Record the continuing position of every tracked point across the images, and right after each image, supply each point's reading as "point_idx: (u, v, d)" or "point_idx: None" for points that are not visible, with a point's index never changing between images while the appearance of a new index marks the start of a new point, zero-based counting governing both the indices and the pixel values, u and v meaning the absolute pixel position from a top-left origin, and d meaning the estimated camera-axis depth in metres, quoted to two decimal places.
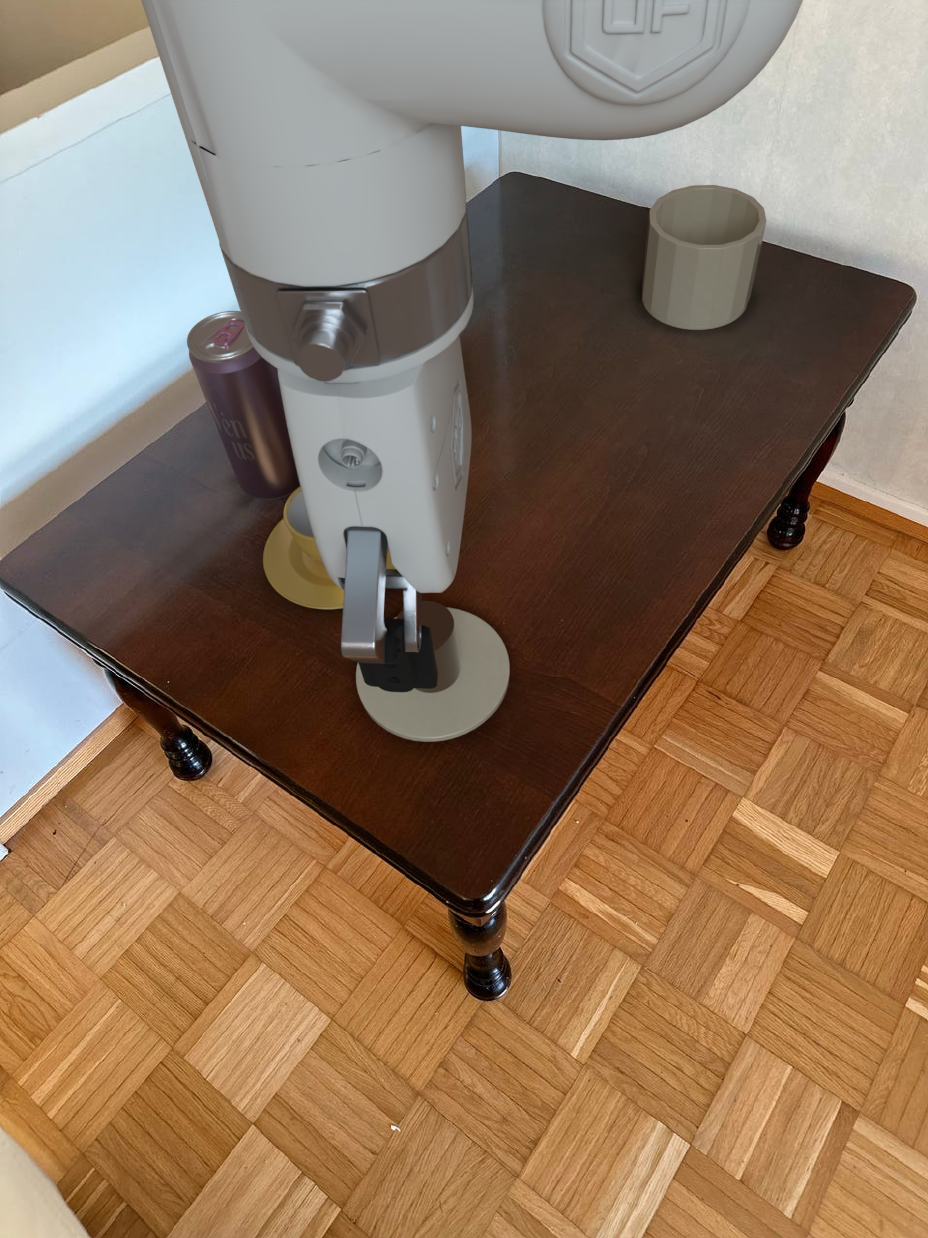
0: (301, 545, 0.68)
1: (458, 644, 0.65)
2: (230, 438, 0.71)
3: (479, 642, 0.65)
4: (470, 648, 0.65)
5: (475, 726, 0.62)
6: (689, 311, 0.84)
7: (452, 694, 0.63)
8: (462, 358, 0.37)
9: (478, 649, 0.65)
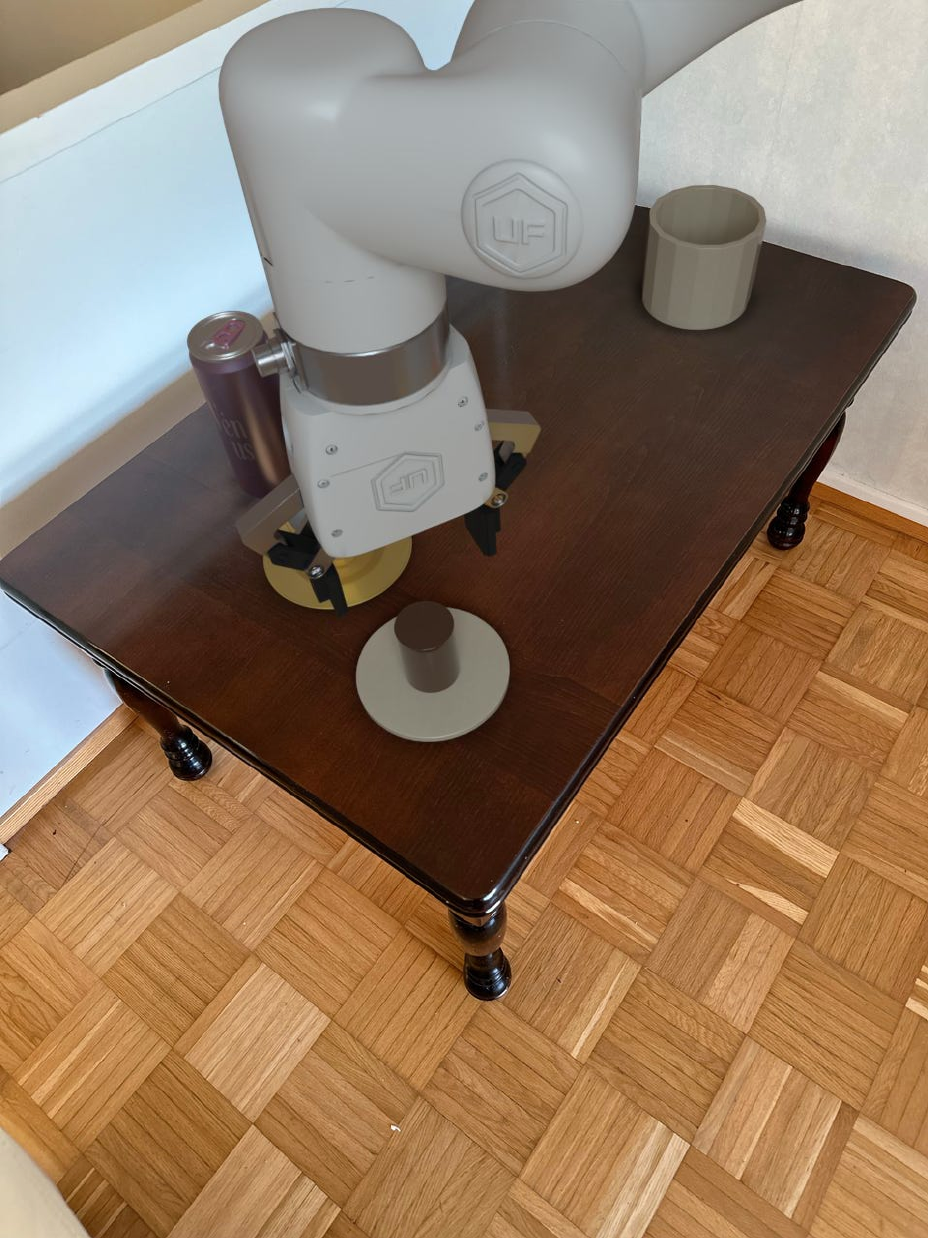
0: None
1: (458, 644, 0.65)
2: (230, 438, 0.71)
3: (479, 642, 0.65)
4: (470, 648, 0.65)
5: (475, 726, 0.62)
6: (689, 311, 0.84)
7: (452, 694, 0.63)
8: (486, 450, 0.46)
9: (478, 649, 0.65)
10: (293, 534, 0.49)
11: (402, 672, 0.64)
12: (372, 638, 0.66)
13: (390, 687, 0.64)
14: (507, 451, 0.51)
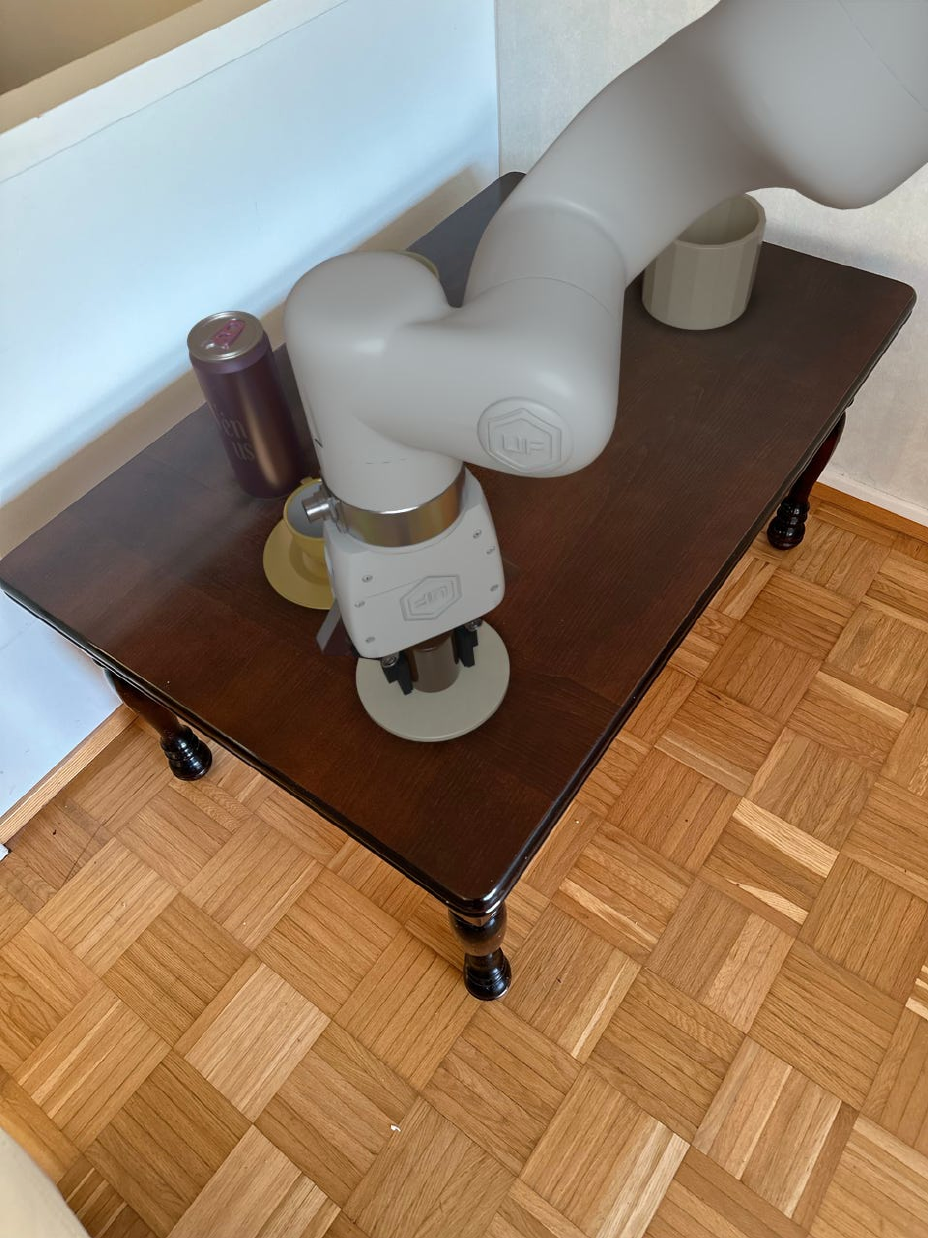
0: (301, 545, 0.68)
1: None
2: (230, 438, 0.71)
3: (479, 642, 0.65)
4: None
5: (475, 726, 0.62)
6: (689, 311, 0.84)
7: (452, 694, 0.63)
8: (497, 567, 0.54)
9: (478, 649, 0.65)
10: None
11: None
12: None
13: (390, 687, 0.64)
14: None
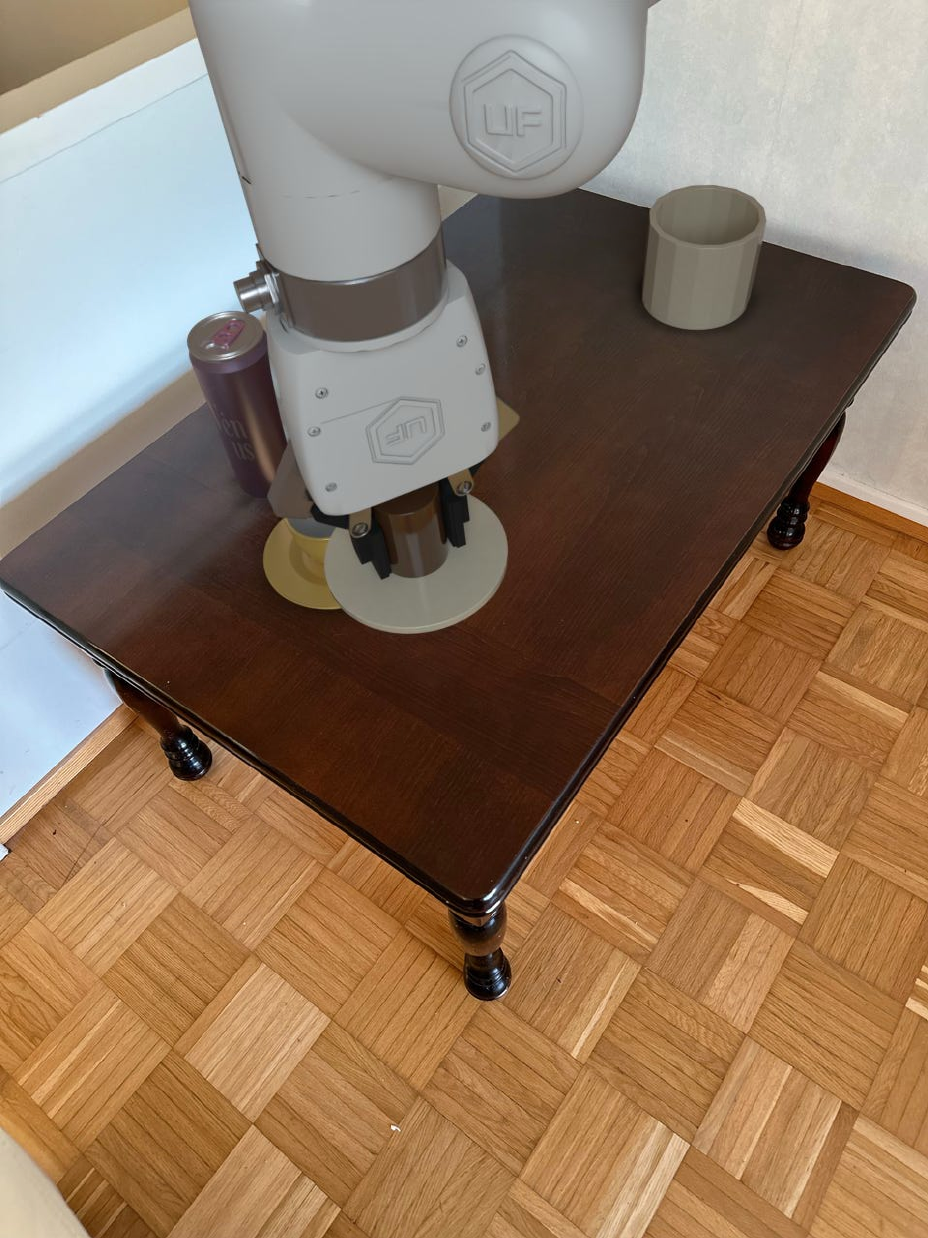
0: (300, 545, 0.68)
1: None
2: (230, 438, 0.71)
3: (471, 521, 0.55)
4: None
5: (466, 614, 0.51)
6: (689, 311, 0.84)
7: (439, 579, 0.52)
8: (488, 397, 0.43)
9: (470, 529, 0.54)
10: None
11: None
12: None
13: (365, 573, 0.53)
14: None
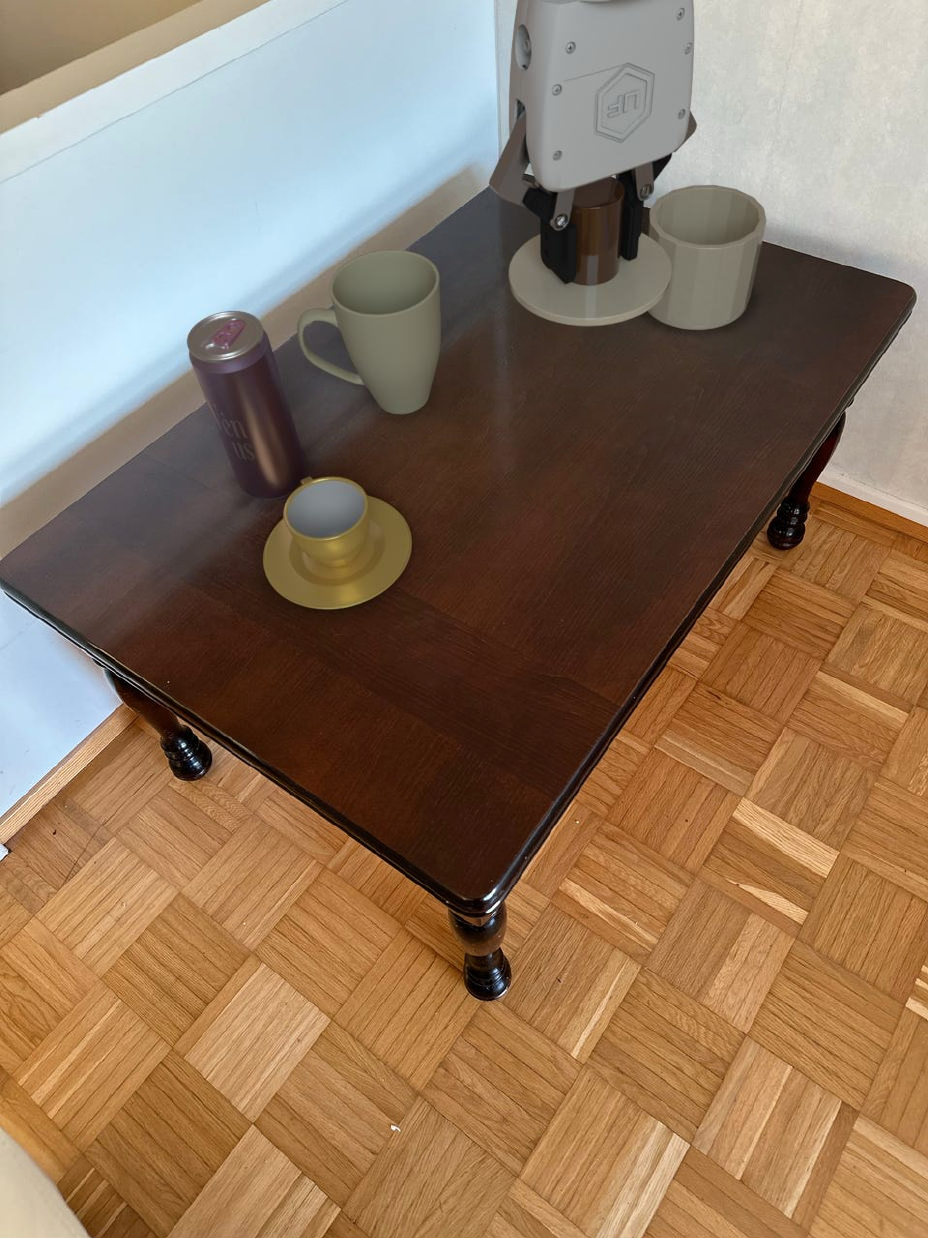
0: (300, 545, 0.68)
1: None
2: (230, 438, 0.71)
3: None
4: None
5: (642, 309, 0.59)
6: (689, 311, 0.84)
7: (614, 285, 0.60)
8: (688, 81, 0.51)
9: None
10: None
11: None
12: (521, 248, 0.63)
13: (548, 283, 0.61)
14: None
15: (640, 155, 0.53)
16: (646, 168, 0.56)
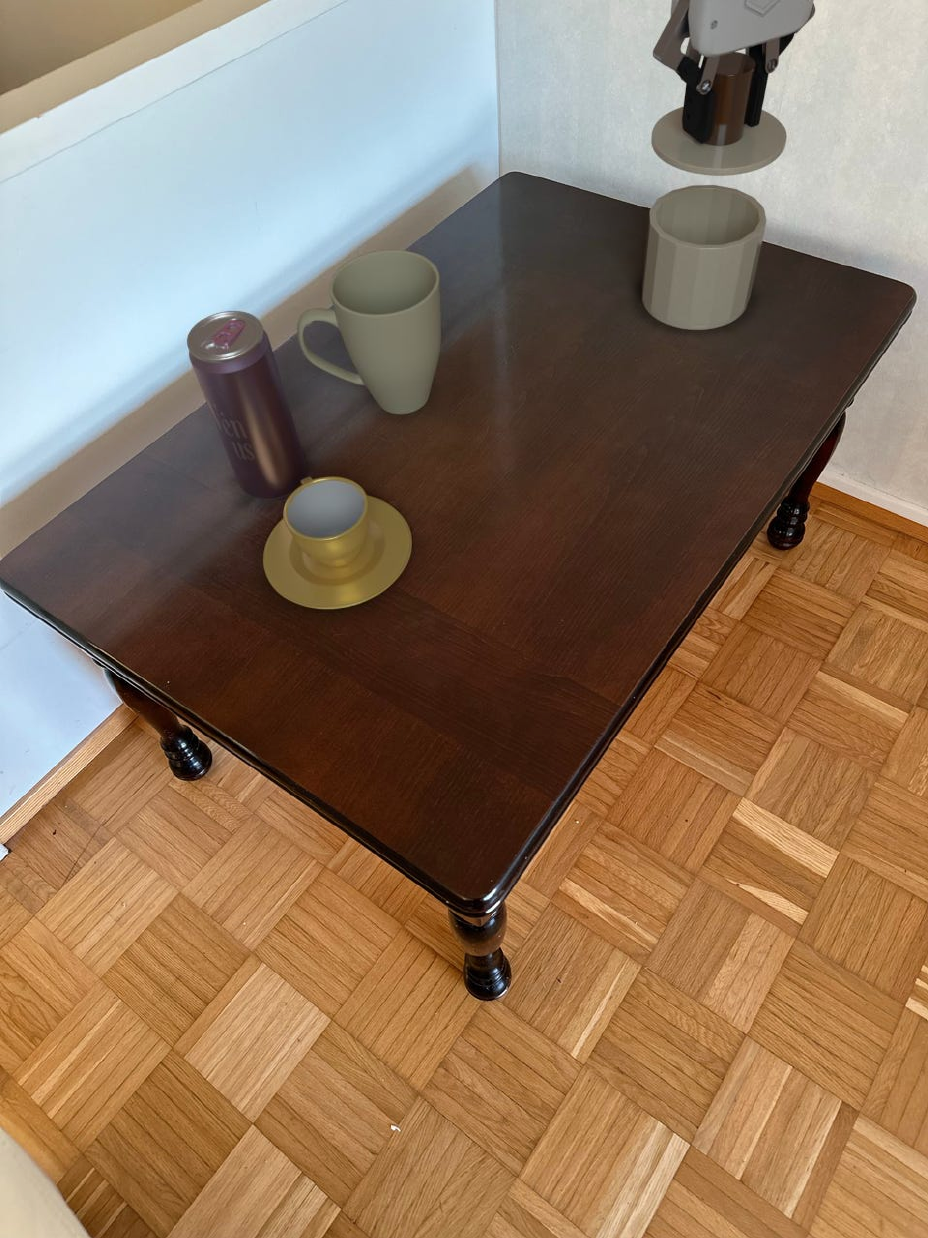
0: (300, 545, 0.68)
1: None
2: (230, 438, 0.71)
3: None
4: None
5: (765, 163, 0.73)
6: (689, 311, 0.84)
7: (740, 145, 0.74)
8: None
9: None
10: None
11: None
12: (660, 120, 0.78)
13: (686, 144, 0.75)
14: None
15: (774, 29, 0.68)
16: (774, 44, 0.70)
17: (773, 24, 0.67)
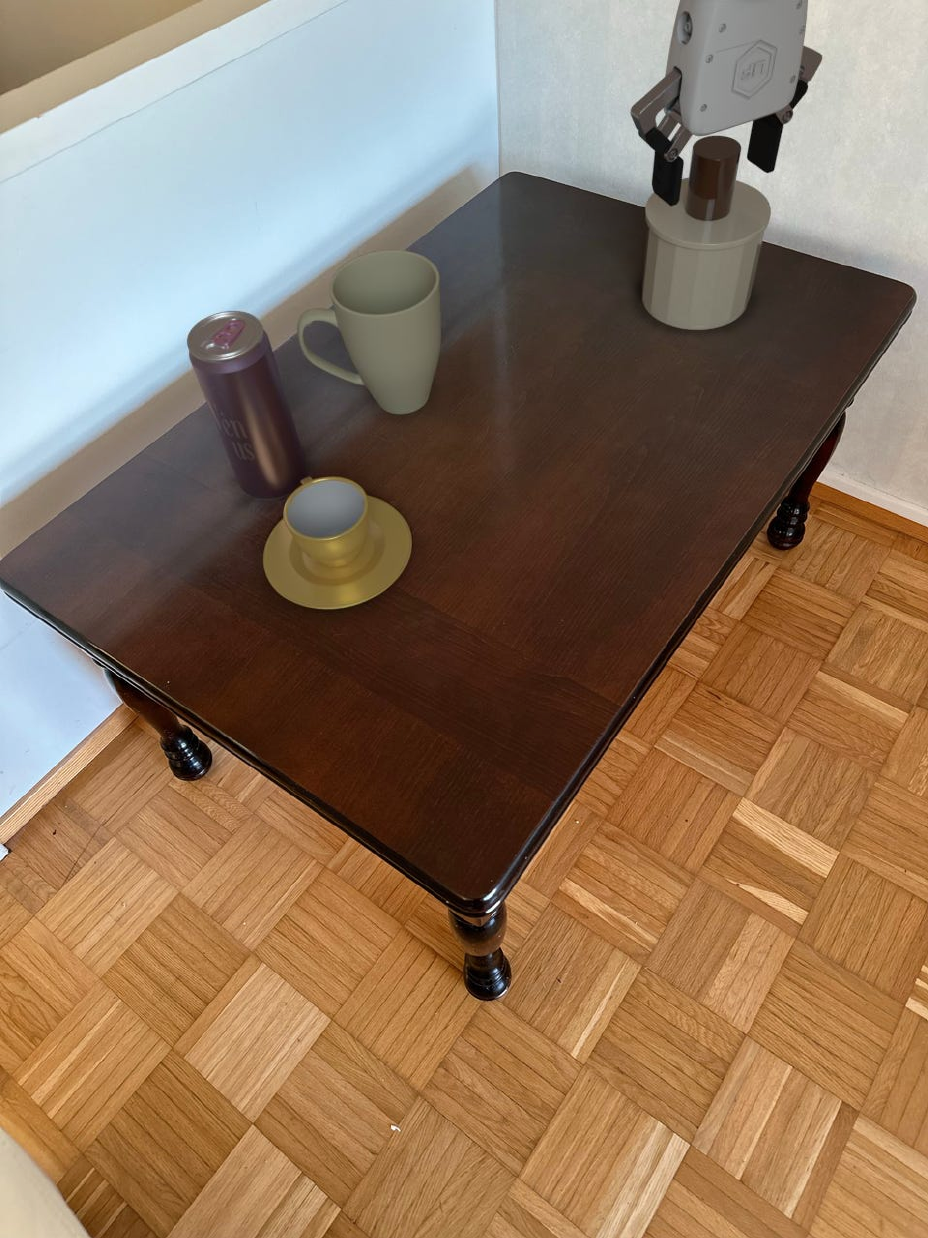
0: (300, 545, 0.68)
1: None
2: (230, 438, 0.71)
3: (741, 193, 0.82)
4: (735, 196, 0.82)
5: (750, 238, 0.79)
6: (689, 311, 0.84)
7: (728, 220, 0.80)
8: (799, 54, 0.70)
9: (741, 196, 0.82)
10: None
11: (683, 211, 0.81)
12: (653, 194, 0.83)
13: (677, 219, 0.80)
14: None
15: (760, 109, 0.72)
16: None
17: (759, 105, 0.72)
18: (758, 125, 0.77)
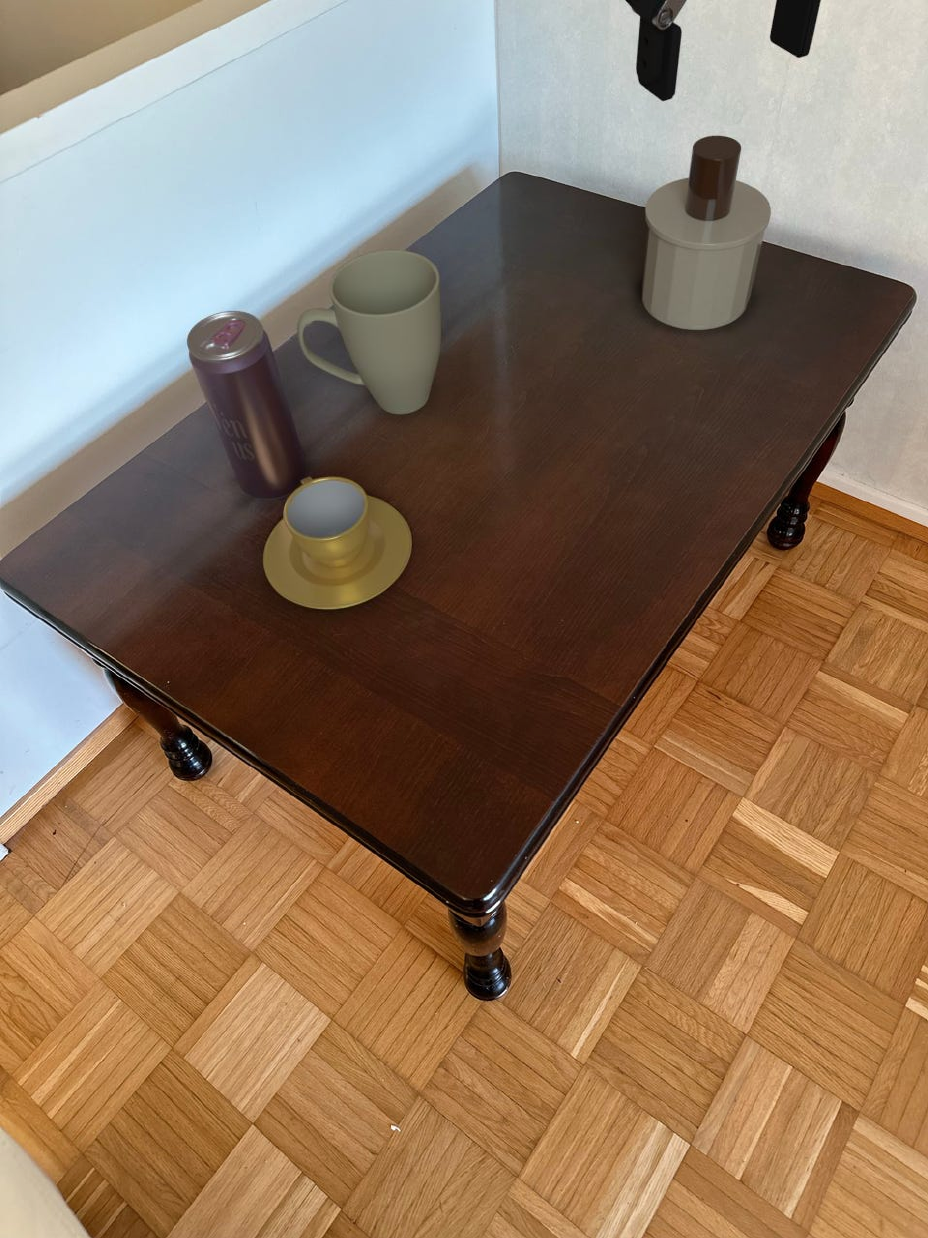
0: (300, 545, 0.68)
1: None
2: (230, 438, 0.71)
3: (741, 193, 0.82)
4: (735, 196, 0.82)
5: (750, 238, 0.79)
6: (689, 311, 0.84)
7: (728, 220, 0.80)
8: None
9: (741, 196, 0.82)
10: None
11: (683, 211, 0.81)
12: (653, 194, 0.83)
13: (677, 219, 0.80)
14: None
15: None
16: None
17: None
18: None
